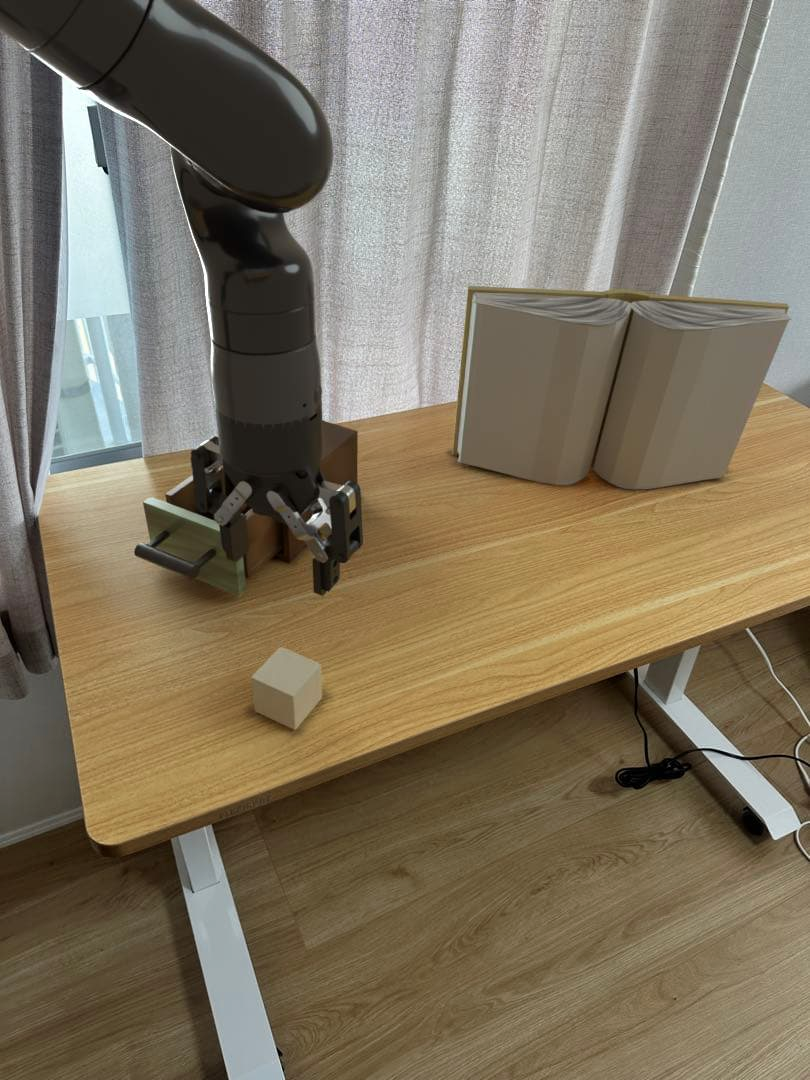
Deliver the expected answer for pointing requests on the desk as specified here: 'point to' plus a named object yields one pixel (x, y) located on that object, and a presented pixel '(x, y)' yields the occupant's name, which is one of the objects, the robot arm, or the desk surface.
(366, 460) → the desk surface
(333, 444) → the cabinet
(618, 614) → the desk surface
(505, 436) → the book
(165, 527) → the drawer
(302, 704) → the block
